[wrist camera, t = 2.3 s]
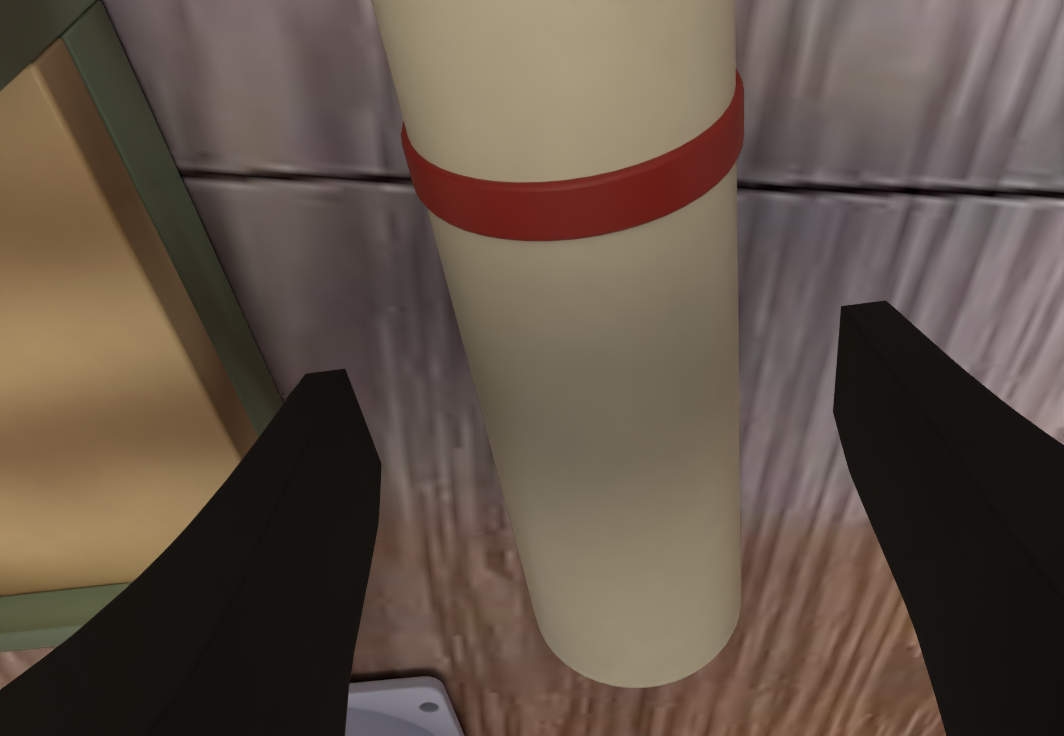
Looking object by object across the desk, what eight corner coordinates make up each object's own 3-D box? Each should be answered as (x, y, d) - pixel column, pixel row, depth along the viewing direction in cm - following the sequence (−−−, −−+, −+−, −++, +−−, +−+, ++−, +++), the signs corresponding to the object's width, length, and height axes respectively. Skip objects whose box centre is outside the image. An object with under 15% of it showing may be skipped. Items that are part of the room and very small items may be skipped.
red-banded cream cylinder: (716, 496, 21) (774, 673, 18) (521, 530, 21) (541, 712, 18) (688, -279, 12) (801, -225, 8) (333, -208, 12) (294, -125, 8)
